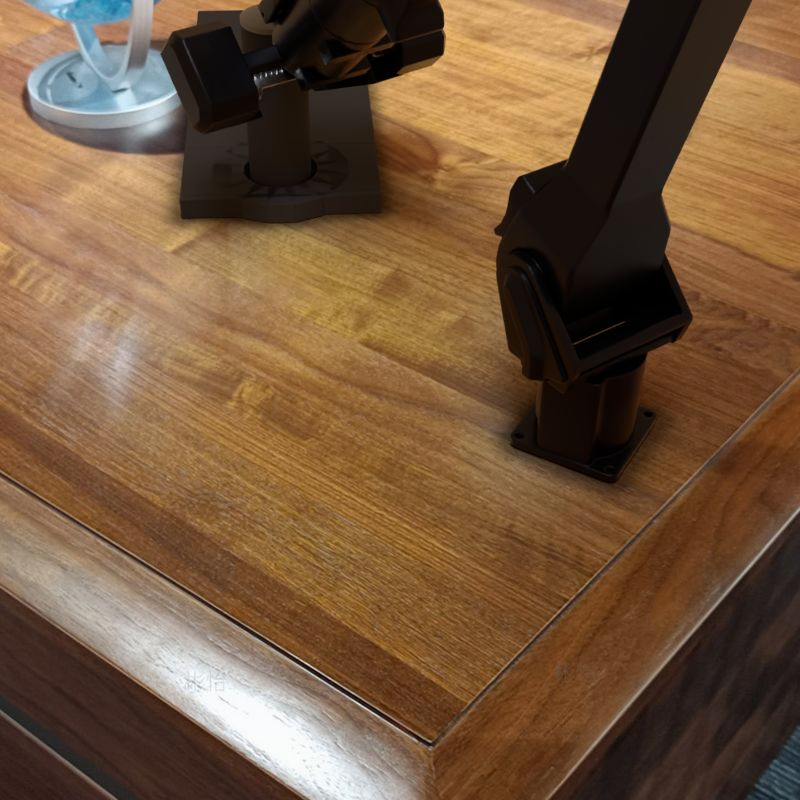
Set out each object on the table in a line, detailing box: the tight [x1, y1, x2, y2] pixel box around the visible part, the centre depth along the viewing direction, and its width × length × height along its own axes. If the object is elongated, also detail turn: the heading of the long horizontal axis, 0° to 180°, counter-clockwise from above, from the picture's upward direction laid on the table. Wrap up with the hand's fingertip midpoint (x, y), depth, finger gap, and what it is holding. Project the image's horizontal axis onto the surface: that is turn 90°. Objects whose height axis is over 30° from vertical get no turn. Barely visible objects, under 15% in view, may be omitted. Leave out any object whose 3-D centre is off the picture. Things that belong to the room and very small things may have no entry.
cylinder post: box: [240, 3, 313, 188], centre depth 94 cm, size 4×4×13 cm
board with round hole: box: [179, 9, 383, 224], centre depth 106 cm, size 33×14×2 cm, turn 4°
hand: (267, 97), depth 95 cm, fingers open, 7 cm apart
